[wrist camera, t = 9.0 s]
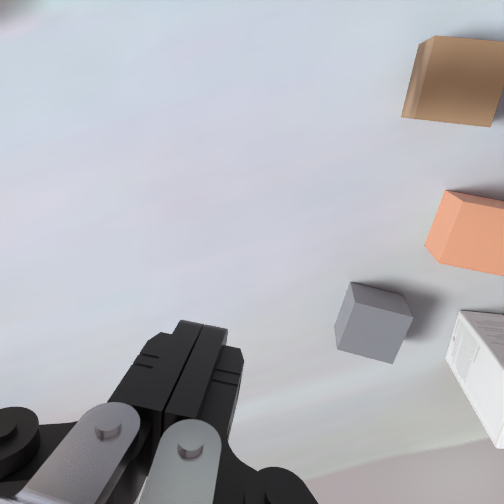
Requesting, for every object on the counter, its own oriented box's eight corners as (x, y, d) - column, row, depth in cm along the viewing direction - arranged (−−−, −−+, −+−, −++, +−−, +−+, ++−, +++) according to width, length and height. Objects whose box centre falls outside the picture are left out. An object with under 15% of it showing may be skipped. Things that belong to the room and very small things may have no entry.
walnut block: (418, 44, 27) (435, 35, 23) (489, 51, 27) (518, 43, 23) (400, 117, 29) (414, 118, 25) (466, 124, 29) (490, 127, 25)
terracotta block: (444, 189, 31) (463, 201, 27) (506, 201, 30) (534, 214, 26) (423, 244, 32) (438, 263, 29) (481, 256, 32) (504, 276, 28)
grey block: (350, 281, 35) (355, 302, 31) (402, 294, 34) (413, 317, 31) (334, 324, 37) (337, 349, 33) (384, 337, 36) (392, 364, 33)
